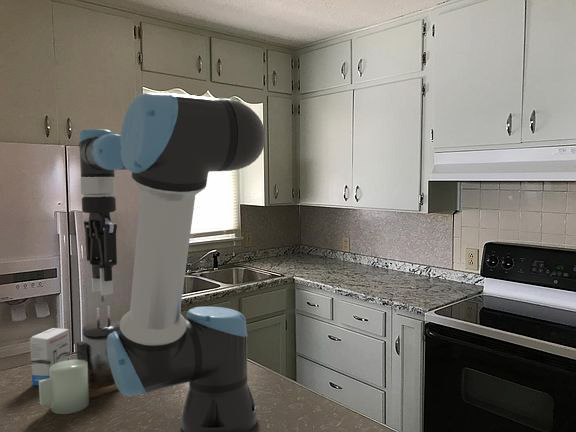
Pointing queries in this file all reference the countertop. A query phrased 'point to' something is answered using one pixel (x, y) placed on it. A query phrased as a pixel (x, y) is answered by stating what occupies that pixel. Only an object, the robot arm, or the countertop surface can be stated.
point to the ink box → (48, 352)
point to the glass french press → (98, 355)
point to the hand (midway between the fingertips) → (102, 292)
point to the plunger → (97, 275)
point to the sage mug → (66, 387)
